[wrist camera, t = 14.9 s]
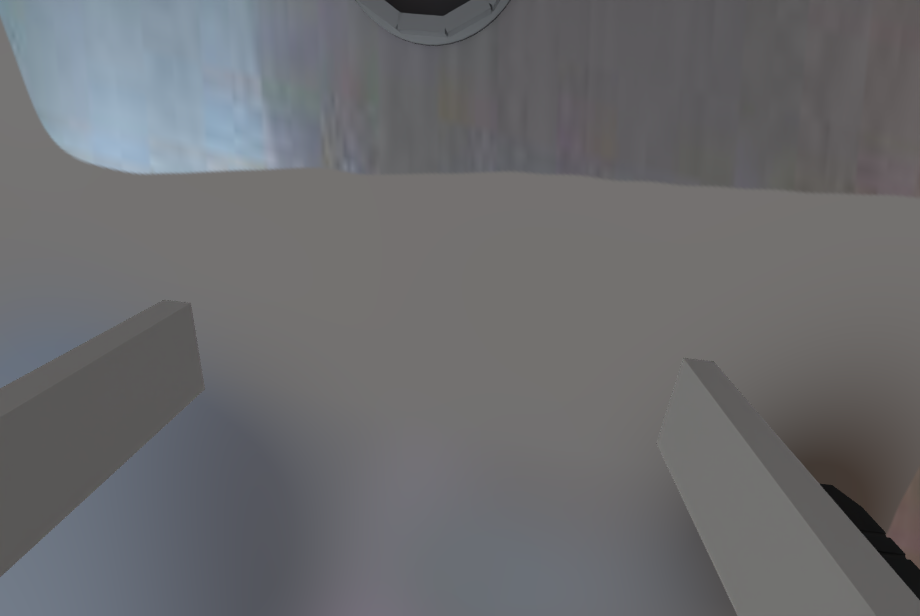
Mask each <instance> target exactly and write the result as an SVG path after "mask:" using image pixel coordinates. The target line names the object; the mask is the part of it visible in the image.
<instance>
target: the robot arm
mask: <svg viewBox="0 0 920 616" xmlns="http://www.w3.org/2000/svg"><path fill="white" fill-rule="evenodd" d="M203 390H205V387H204V381H203V374H202V369H201V362H200V356H199V350H198V344H197V338H196V332H195V326H194V320H193V313H192V307H191V303H186V302H178V301H169V300H162V301H161V302H159V303H157V304H155V305H153V306H152V307H150V308H148V309H146V310H144V311H142V312H140V313H139V314H137V315H135V316H133V317H131V318H129V319H128V320H126V321H124V322H122V323H120V324H118V325H117V326H115V327H113V328H111V329H109V330H107V331H105V332H104V333H102V334H100V335H98V336H96V337H94V338H93V339H91V340H89V341H87V342H85V343H83V344H82V345H80V346H78V347H76V348H74V349H72V350H70V351H69V352H67V353H65V354H63V355H61V356H59V357H58V358H56V359H54V360H52V361H50V362H48V363H46V364H45V365H43V366H41V367H39V368H37V369H35V370H34V371H32V372H30V373H28V374H26V375H25V376H23V377H21V378H19V379H17V380H15V381H13V382H12V383H10V384H8V385H6V386H4V387H2V388H0V577H1V576H2V575H3V574H4V573H5V572H6V571H7V570H9V569H10V568H11V567H12V566H13V565H14V564H15V563H16V562H17V561H18V560H19V559H20V558H22V557H23V556H24V555H25V554H26V553H27V552H28V551H29V550H30V549H31V548H32V547H34V546H35V545H36V544H37V543H38V542H39V541H40V540H41V539H42V538H43V537H44V536H45V535H47V534H48V533H49V532H50V531H51V530H52V529H53V528H54V527H55V526H56V525H58V524H59V523H60V522H61V521H62V520H63V519H64V518H65V517H66V516H67V515H68V514H69V513H70V512H72V511H73V510H74V509H75V508H76V507H77V506H78V505H79V504H80V503H81V502H83V501H84V500H85V499H86V498H87V497H88V496H89V495H90V494H91V493H92V492H93V491H95V490H96V489H97V488H98V487H99V486H100V485H101V484H102V483H103V482H104V481H105V480H106V479H108V478H109V477H110V476H111V475H112V474H113V473H114V472H115V471H116V470H117V469H118V468H120V467H121V466H122V465H123V464H124V463H125V462H126V461H127V460H128V459H129V458H130V457H132V456H133V455H134V454H135V453H136V452H137V451H138V450H139V449H140V448H141V447H142V446H143V445H144V444H146V443H147V442H148V441H149V440H150V439H151V438H152V437H153V436H154V435H155V434H156V433H158V432H159V431H160V430H161V429H162V428H163V427H164V426H165V425H166V424H167V423H169V422H170V421H171V420H172V419H173V418H174V417H175V416H176V415H177V414H178V413H179V412H180V411H182V410H183V409H184V408H185V407H186V406H187V405H188V404H189V403H190V402H191V401H193V399H195V397H197V396H198V395H199V394H200V393H201V392H202V391H203ZM656 444H657V446H658V448H659V450H660V452H661V454H662V456H663V459H664V460H665V463H666V465H667V467H668V469H669V471H670V473H671V475H672V477H673V480H674V482H675V484H676V486H677V488H678V490H679V493H680V495H681V497H682V499H683V501H684V503H685V505H686V507H687V509H688V512H689V514H690V515H691V518H692V520H693V522H694V524H695V526H696V528H697V531H698V533H699V535H700V537H701V539H702V541H703V543H704V545H705V548H706V550H707V552H708V554H709V556H710V558H711V560H712V562H713V564H714V567H715V569H716V571H717V573H718V575H719V577H720V579H721V582H722V584H723V586H724V588H725V590H726V592H727V594H728V597H729V599H730V601H731V603H732V605H733V607H734V609H735V611H736V613H737V616H920V570H919V568H918V567H917V566H916V565H915V564H914V563H913V562H912V561H911V560H907V559H906V558H905V553H904V552H903V551H902V550H901V549H900V548H899V547H898V546H897V545H896V543H895V542H894V541H893V540H892V539H891V538H887V537H886V535H885V532H884V530H883V529H882V528H881V527H880V526H879V525H878V524H877V523H876V522H875V521H874V520H873V519H872V517H871V516H870V515H869V514H868V513H867V512H866V511H865V510H864V509H863V508H862V507H861V506H859V505H858V504H857V503H856V502H854V501H852V500H851V499H850V498H849V497H847V496H846V495H845V494H843V493H842V492H841V491H839V490H838V489H837V488H835V487H834V486H832V485H826V484H819V483H818V482H817V481H816V480H815V478H814V477H813V476H812V475H811V474H810V473H809V471H808V470H807V469H806V468H805V467H804V466H803V464H802V463H801V462H800V461H799V460H798V459H797V458H796V456H795V455H794V454H793V453H792V452H791V451H790V449H789V448H788V447H787V446H786V445H785V444H784V442H783V441H782V440H781V439H780V438H779V437H778V436H777V434H776V433H775V432H774V431H773V430H772V428H771V427H770V426H769V425H768V424H767V423H766V421H765V420H764V419H763V418H762V417H761V416H760V415H759V413H758V412H757V411H756V410H755V409H754V408H753V406H752V405H751V404H750V403H749V402H748V401H747V399H746V398H745V397H744V396H743V395H742V394H741V392H740V391H739V390H738V389H737V388H736V387H735V386H734V384H733V383H732V382H731V381H730V380H729V379H728V377H727V376H726V375H725V374H724V373H723V372H722V371H721V369H720V368H719V367H718V366H717V365H716V364H715V362H713V361H705V360H697V359H688V358H683V361H682V364H681V367H680V370H679V374H678V377H677V380H676V383H675V386H674V389H673V393H672V396H671V399H670V402H669V405H668V409H667V412H666V415H665V418H664V421H663V424H662V428H661V431H660V434H659V437H658V441H657V443H656Z"/></svg>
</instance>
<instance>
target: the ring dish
mask: <svg viewBox="0 0 920 616" xmlns="http://www.w3.org/2000/svg"><path fill="white" fill-rule="evenodd" d="M356 2H357V3H358V5H359V6H360V7H361V8H362V9H363V11H364V12H365V13H366V14H367V15H368V16H369V17H370V18H371V19H372V20H373V21H375V22H376V23H377V24H378V25H379V26H381V27H382V28H383V29H385V30H386V31H388V32H389V33H391V34H392V35H394V36H396V37H399V38H401V39H403V40H405V41H408V42H412V43H415V44H420V45H427V46H440V45H447V44H453V43H456V42H459V41H463V40H465V39H467V38H469V37H471V36H473V35H475V34H477V33H478V32H480V31H481V30H483V29H484V28H486V27H487V26H488V25H489V24H490V23H491V22H493V21H494V20H495V19H496V18H497V17H498V16H499V15H500V13H501V12H502V11H503V10H504V9H505V8H506V6H507V5H508V3H509V2H510V0H356Z"/></svg>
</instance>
